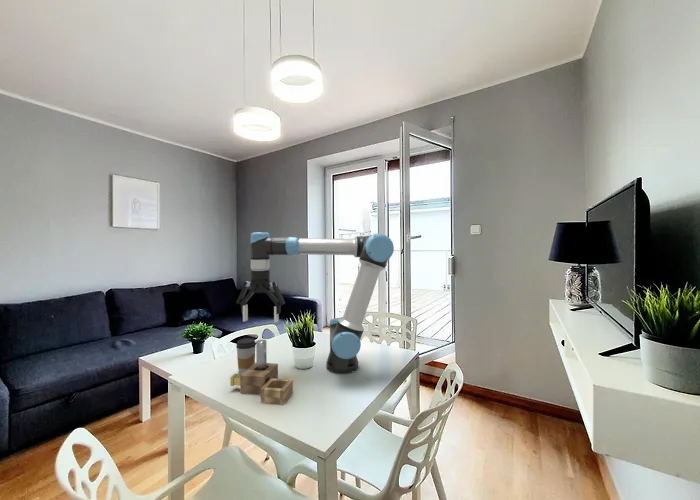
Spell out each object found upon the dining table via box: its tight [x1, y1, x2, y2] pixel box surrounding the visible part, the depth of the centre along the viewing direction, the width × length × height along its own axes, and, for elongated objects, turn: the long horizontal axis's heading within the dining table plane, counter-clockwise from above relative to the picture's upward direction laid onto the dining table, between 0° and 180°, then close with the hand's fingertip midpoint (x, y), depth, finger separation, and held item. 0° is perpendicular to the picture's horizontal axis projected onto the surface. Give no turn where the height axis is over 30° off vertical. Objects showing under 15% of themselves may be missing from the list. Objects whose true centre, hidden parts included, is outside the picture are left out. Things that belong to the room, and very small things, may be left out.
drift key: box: [229, 373, 266, 387], centre depth 117 cm, size 13×3×3 cm, turn 81°
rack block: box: [260, 378, 294, 405], centre depth 111 cm, size 9×9×5 cm
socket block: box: [239, 362, 279, 396], centre depth 120 cm, size 10×13×7 cm
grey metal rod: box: [255, 339, 268, 371], centre depth 121 cm, size 4×4×18 cm
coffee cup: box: [236, 337, 256, 375], centre depth 132 cm, size 8×8×15 cm
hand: (260, 321), depth 121 cm, fingers open, 13 cm apart
